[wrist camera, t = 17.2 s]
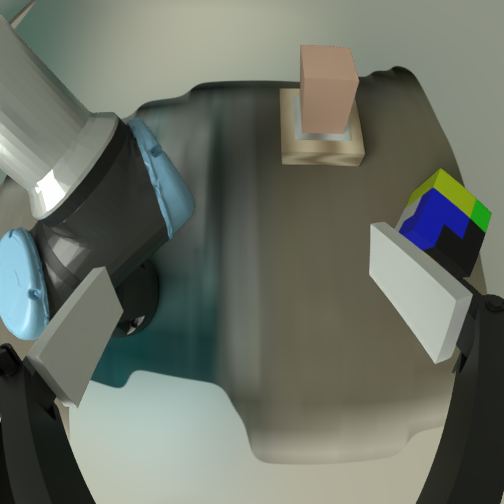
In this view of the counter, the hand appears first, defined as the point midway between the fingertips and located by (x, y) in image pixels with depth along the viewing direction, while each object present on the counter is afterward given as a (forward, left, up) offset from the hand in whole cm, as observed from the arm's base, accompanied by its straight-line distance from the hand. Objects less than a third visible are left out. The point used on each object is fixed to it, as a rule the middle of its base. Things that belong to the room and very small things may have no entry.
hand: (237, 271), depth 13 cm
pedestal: (+7, +24, -27) cm, 37 cm away
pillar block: (+7, +24, -22) cm, 34 cm away
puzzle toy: (+24, +7, -27) cm, 37 cm away
